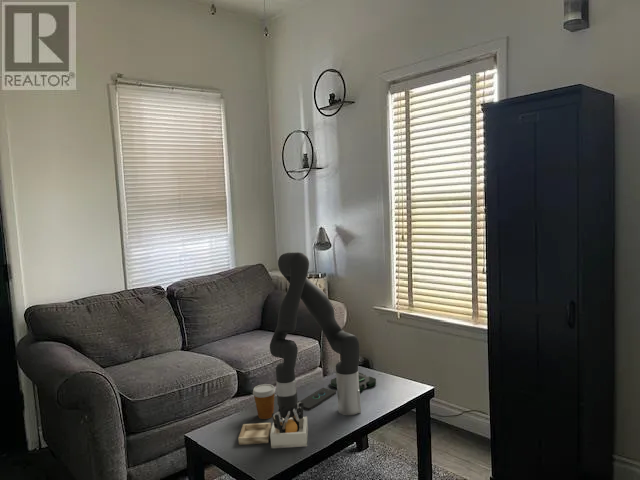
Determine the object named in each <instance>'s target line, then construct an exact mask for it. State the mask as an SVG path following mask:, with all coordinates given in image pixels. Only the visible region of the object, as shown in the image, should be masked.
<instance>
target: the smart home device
mask: <svg viewBox="0 0 640 480" xmlns="http://www.w3.org/2000/svg"><path fill="white" fill-rule="evenodd" d="M335 395H337V390H334V389H330V388H325V387H321V388H320V389H318V390H317V391H315V392H313V393H311V394H309V395H308V396H306V397H304V398H303V399H301V400H299V402H302V403H303V404H304V406H303V410H306V411H312V410H313V409H314V408H316V407H318V406H319V405H321V404H323V403H324V402H326V401H327V400H329V399H330V398H332V397H334V396H335Z"/></svg>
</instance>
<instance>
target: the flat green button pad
mask: <svg viewBox="0 0 640 480" xmlns="http://www.w3.org/2000/svg"><path fill="white" fill-rule="evenodd" d="M358 377H359V390H360V392H362V391H364V390H366V389H367V387H368V388H370V387H373V386H376V385H377V378H375V377H373V376H370V375H369V376H367V375H366V374H364V373H362V372H360V371H358ZM329 383H330V386H332V387H333V388H334V387H335V388H336V389H337V379H336V377H334V378H331V380H330V381H329Z"/></svg>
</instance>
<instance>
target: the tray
mask: <svg viewBox="0 0 640 480" xmlns="http://www.w3.org/2000/svg"><path fill="white" fill-rule="evenodd" d="M271 429H272V422H258V423H256V422H255V423H243V424H242V427H241V430H240V433H239V435H238V445H239V446H240V445H256V444H258V445H260V444H269V441H270V439H271V438H270V434H271Z"/></svg>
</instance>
